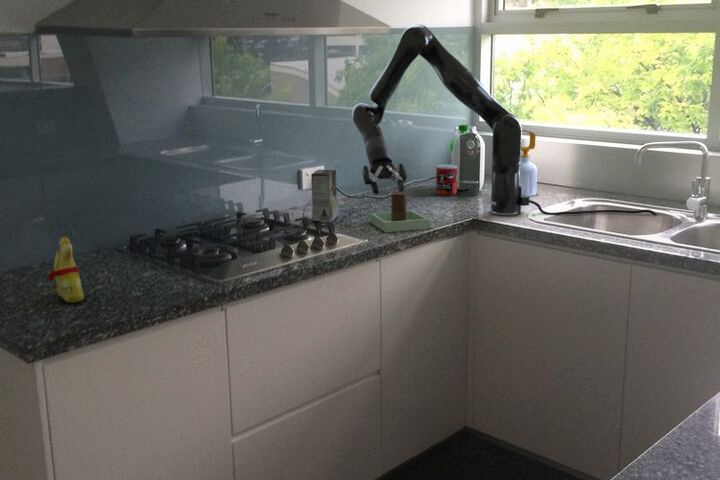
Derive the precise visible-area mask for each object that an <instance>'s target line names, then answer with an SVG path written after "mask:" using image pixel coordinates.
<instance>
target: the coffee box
mask: <svg viewBox="0 0 720 480" xmlns="http://www.w3.org/2000/svg"><path fill="white" fill-rule="evenodd" d="M310 174H311V208H312V221H313V220H316V219H318V220H320V221H321V222H320V223H332V222H333V221H334V220H335V219H336V218H337V217H338V201H337V200H338V199H337V198H338V197H337V195H338V194H337V169H318V170H315V171H314V172H312V173H310Z"/></svg>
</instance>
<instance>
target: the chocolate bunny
mask: <svg viewBox="0 0 720 480" xmlns="http://www.w3.org/2000/svg"><path fill="white" fill-rule="evenodd" d="M74 259H75V258H74V256H73V245H72V243H71V241H70V239H69V238H68V237H67V236H63V237H62V236H61V238H60V239H59V243H58V249H57V251H56V253H55V256H54V260H53V270H51V271H50V274H49V275H48V280H49V282H52V281H53V280H55V283H56V284H55V285H56V289H57V292H56V293H57V294H58V296H59V297H60V298H62V299H63V300H64V301H65V302H66V303H67V304H76V303H80V302H81V301H83V300H84V298H85V295H84V291H83V288H82V281H81V277H80V273H79V272H80V270H79V266H77V264H76V262H75V260H74Z"/></svg>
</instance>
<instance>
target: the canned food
mask: <svg viewBox="0 0 720 480" xmlns="http://www.w3.org/2000/svg"><path fill="white" fill-rule="evenodd" d="M435 167H436V169H435V170H436V171H435V173H436V177H435V178H436V179H435V184H436V185H435V193H436V195H437V196H440V197H453V196H456V195H457V192H458V190H457V189H456V187H457V182H456V175H457V166H455V165H453V163H442V164H436V166H435Z"/></svg>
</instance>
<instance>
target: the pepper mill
mask: <svg viewBox="0 0 720 480" xmlns="http://www.w3.org/2000/svg"><path fill="white" fill-rule="evenodd" d="M406 211H407V192H406V191H403V192H399V191H393V192H391V193H390V212H391V222H394V221H406Z"/></svg>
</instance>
